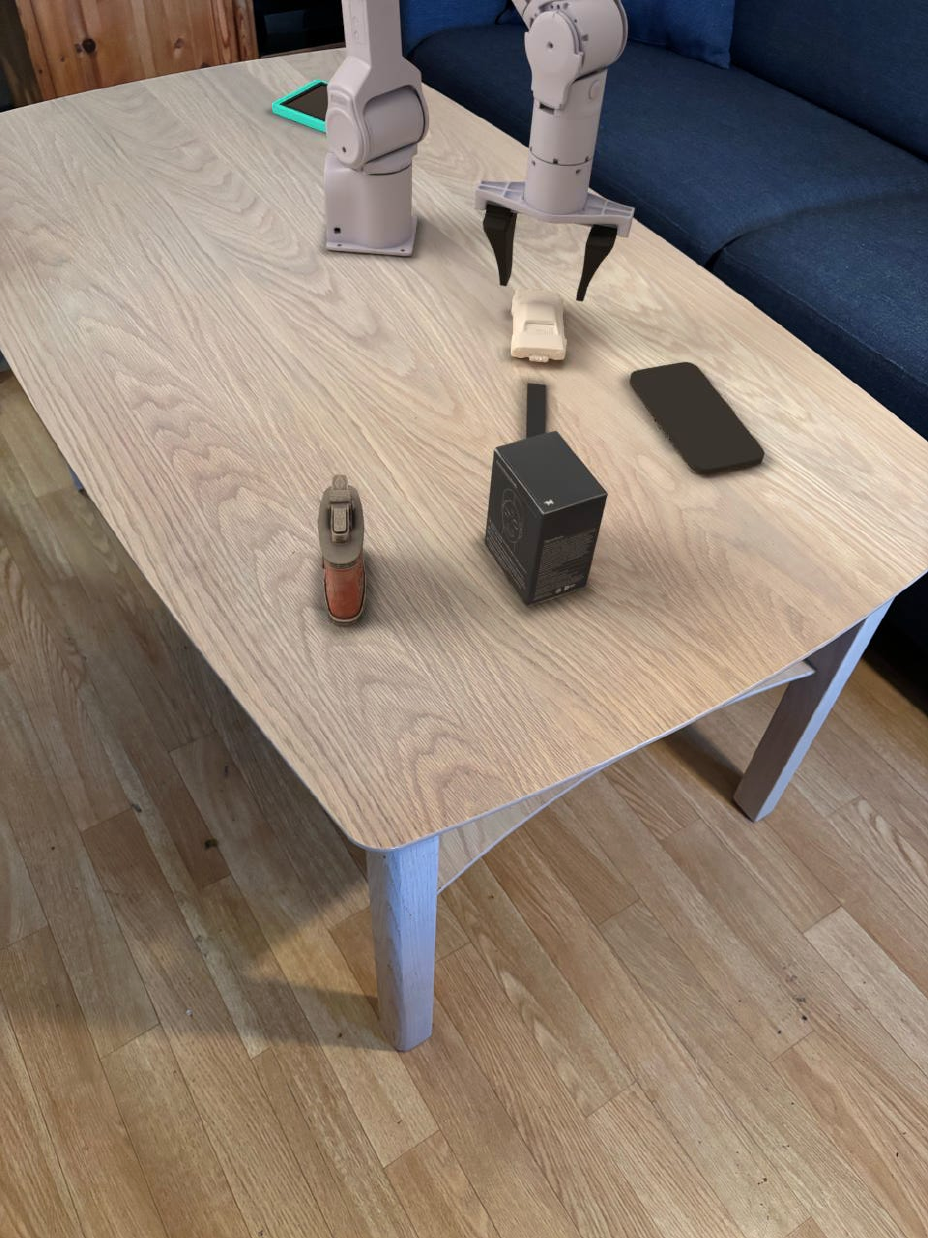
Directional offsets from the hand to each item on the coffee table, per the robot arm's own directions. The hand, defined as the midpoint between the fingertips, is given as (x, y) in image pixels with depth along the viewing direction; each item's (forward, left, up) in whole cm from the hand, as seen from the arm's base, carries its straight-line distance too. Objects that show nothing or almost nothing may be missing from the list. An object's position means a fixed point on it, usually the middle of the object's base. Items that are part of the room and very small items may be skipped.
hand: (543, 287), depth 95 cm
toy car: (0, -1, -5) cm, 5 cm away
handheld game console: (-26, +44, -5) cm, 51 cm away
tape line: (0, -16, -5) cm, 17 cm away
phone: (+15, -12, -5) cm, 20 cm away
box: (0, -32, -5) cm, 32 cm away
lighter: (-15, -36, -5) cm, 39 cm away
